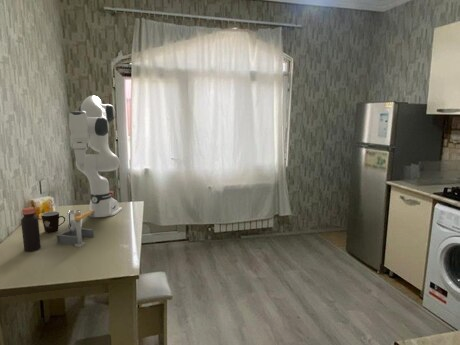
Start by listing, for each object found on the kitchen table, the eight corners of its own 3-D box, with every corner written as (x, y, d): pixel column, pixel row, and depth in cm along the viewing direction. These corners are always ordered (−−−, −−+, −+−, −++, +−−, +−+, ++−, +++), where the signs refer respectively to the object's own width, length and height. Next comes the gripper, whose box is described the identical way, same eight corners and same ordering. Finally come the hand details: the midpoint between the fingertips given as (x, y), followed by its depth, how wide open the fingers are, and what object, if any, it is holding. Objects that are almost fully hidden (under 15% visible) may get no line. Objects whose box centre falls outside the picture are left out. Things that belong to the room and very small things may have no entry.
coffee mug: (39, 232, 172) (37, 214, 171) (54, 227, 180) (52, 210, 178) (52, 236, 167) (51, 217, 165) (67, 231, 174) (66, 213, 173)
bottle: (20, 250, 149) (16, 209, 145) (34, 245, 155) (30, 205, 151) (30, 253, 146) (26, 211, 143) (44, 247, 152) (40, 207, 149)
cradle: (74, 234, 169) (72, 212, 167) (97, 237, 166) (96, 214, 164) (55, 243, 157) (53, 219, 154) (80, 246, 154) (78, 222, 151)
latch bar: (79, 226, 152) (78, 218, 151) (74, 225, 152) (73, 218, 152) (95, 216, 167) (95, 209, 166) (90, 216, 167) (90, 209, 166)
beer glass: (65, 241, 159) (63, 213, 157) (74, 236, 166) (72, 209, 164) (78, 242, 158) (76, 213, 156) (86, 237, 165) (84, 209, 163)
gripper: (74, 141, 169) (76, 166, 171) (72, 145, 150) (74, 174, 153) (87, 141, 171) (89, 166, 174) (86, 145, 153) (88, 173, 155)
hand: (82, 170), depth 163 cm, fingers closed
